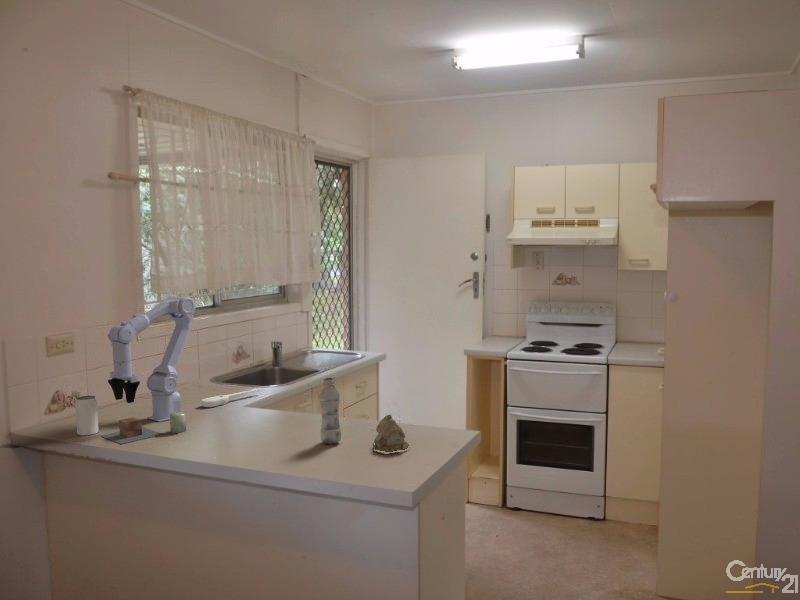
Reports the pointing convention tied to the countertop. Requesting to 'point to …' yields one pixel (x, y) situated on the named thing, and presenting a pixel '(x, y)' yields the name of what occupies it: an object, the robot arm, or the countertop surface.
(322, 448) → the countertop surface
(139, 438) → the slate mat
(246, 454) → the countertop surface
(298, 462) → the countertop surface
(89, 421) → the can
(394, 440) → the ceramic model
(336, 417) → the plastic bottle
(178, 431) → the sage cylinder
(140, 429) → the walnut block
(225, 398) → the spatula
